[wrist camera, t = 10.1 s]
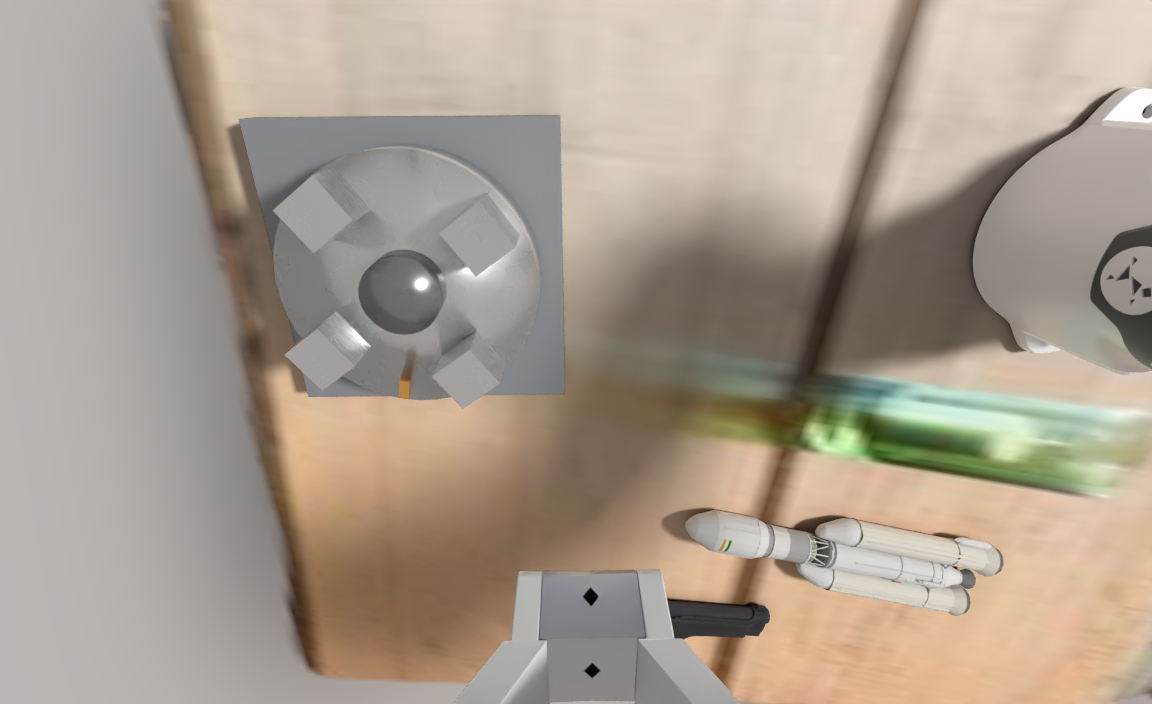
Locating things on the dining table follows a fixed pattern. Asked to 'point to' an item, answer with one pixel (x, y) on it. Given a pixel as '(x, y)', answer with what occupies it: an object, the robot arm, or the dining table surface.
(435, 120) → the flat gray base plate
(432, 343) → the domed disc mount
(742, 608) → the handgun
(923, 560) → the rocket model
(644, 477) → the dining table surface
